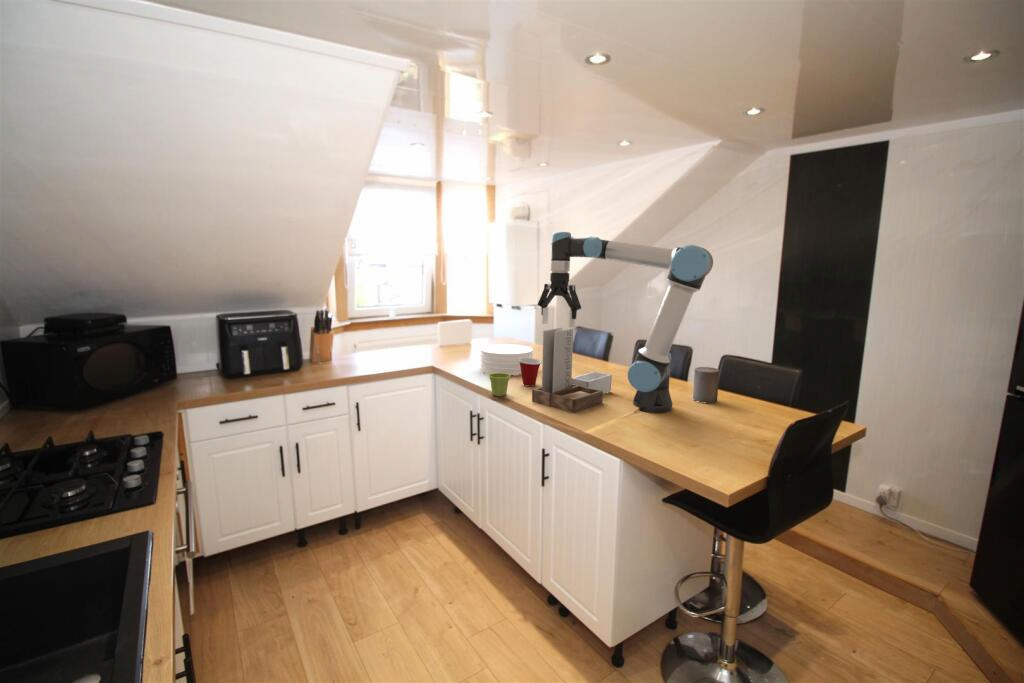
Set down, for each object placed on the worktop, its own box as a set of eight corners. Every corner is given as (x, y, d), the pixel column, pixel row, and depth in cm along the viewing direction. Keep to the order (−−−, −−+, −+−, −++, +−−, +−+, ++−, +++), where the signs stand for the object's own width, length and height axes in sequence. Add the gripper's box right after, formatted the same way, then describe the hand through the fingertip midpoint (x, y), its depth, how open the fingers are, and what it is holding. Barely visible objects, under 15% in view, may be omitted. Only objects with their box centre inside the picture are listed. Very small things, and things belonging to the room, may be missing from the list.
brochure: (552, 406, 182) (555, 332, 177) (541, 404, 186) (543, 330, 181) (570, 398, 193) (573, 328, 189) (559, 396, 197) (561, 327, 192)
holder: (610, 392, 205) (611, 374, 204) (587, 400, 192) (588, 381, 191) (594, 388, 211) (595, 371, 210) (570, 396, 198) (571, 378, 197)
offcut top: (595, 399, 184) (595, 395, 183) (571, 406, 175) (571, 401, 174) (580, 395, 190) (580, 390, 189) (556, 401, 181) (556, 396, 180)
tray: (602, 405, 185) (602, 390, 184) (573, 415, 172) (574, 400, 171) (560, 394, 200) (561, 381, 199) (532, 403, 186) (532, 389, 185)
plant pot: (487, 391, 203) (488, 372, 201) (509, 391, 204) (509, 372, 202) (489, 397, 193) (489, 377, 192) (511, 397, 194) (511, 377, 193)
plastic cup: (537, 388, 209) (538, 363, 207) (515, 386, 212) (515, 361, 210) (543, 383, 219) (544, 358, 217) (522, 381, 222) (522, 356, 220)
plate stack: (469, 369, 245) (469, 348, 243) (504, 362, 266) (504, 342, 264) (509, 378, 227) (509, 356, 225) (542, 369, 248) (543, 348, 246)
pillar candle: (720, 400, 195) (722, 365, 192) (713, 405, 187) (716, 369, 185) (696, 396, 201) (699, 362, 198) (689, 401, 193) (691, 366, 191)
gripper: (591, 273, 175) (589, 328, 179) (542, 271, 192) (540, 321, 196) (580, 273, 170) (577, 329, 173) (530, 271, 187) (528, 322, 190)
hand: (558, 325), depth 184 cm, fingers open, 13 cm apart
